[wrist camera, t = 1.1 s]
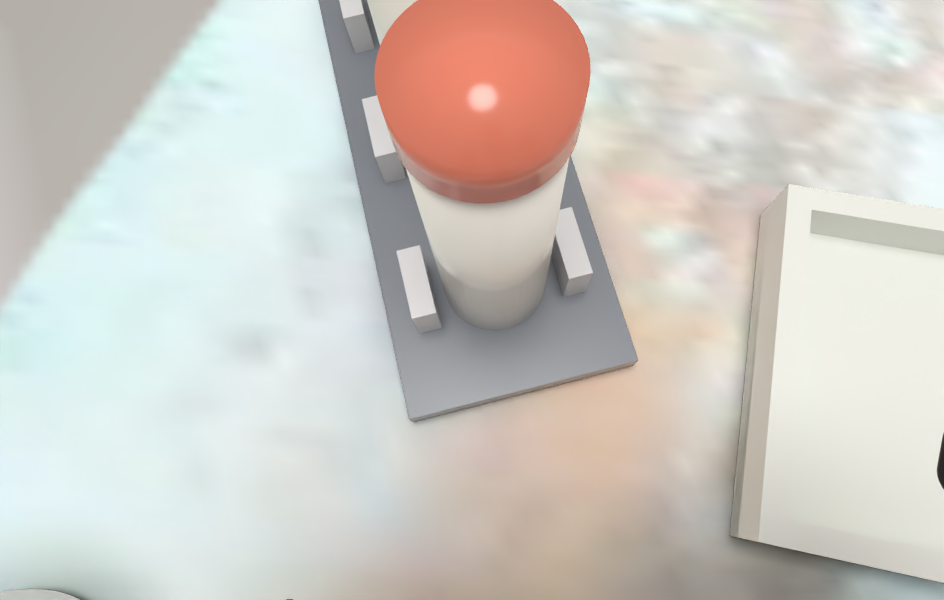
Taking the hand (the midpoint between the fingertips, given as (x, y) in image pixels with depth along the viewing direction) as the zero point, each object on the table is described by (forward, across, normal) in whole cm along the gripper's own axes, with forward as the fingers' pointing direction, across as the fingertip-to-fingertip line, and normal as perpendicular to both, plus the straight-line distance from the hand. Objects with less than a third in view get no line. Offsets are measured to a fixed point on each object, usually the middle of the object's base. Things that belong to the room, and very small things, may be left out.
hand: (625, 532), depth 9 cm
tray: (+10, -13, +9) cm, 19 cm away
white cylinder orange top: (+14, 0, +3) cm, 15 cm away
